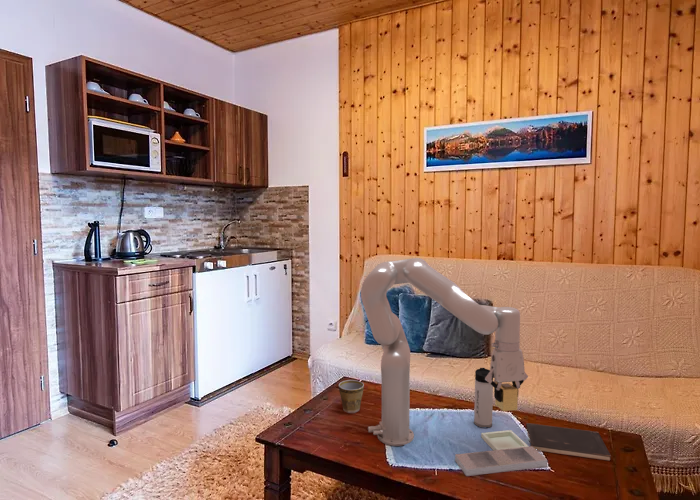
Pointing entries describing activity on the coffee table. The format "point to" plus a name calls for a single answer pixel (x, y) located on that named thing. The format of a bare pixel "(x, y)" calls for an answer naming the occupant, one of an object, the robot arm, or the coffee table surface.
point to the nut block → (508, 397)
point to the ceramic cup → (351, 395)
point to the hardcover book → (567, 441)
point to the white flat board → (500, 460)
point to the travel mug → (483, 399)
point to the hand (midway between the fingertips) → (506, 399)
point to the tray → (503, 440)
